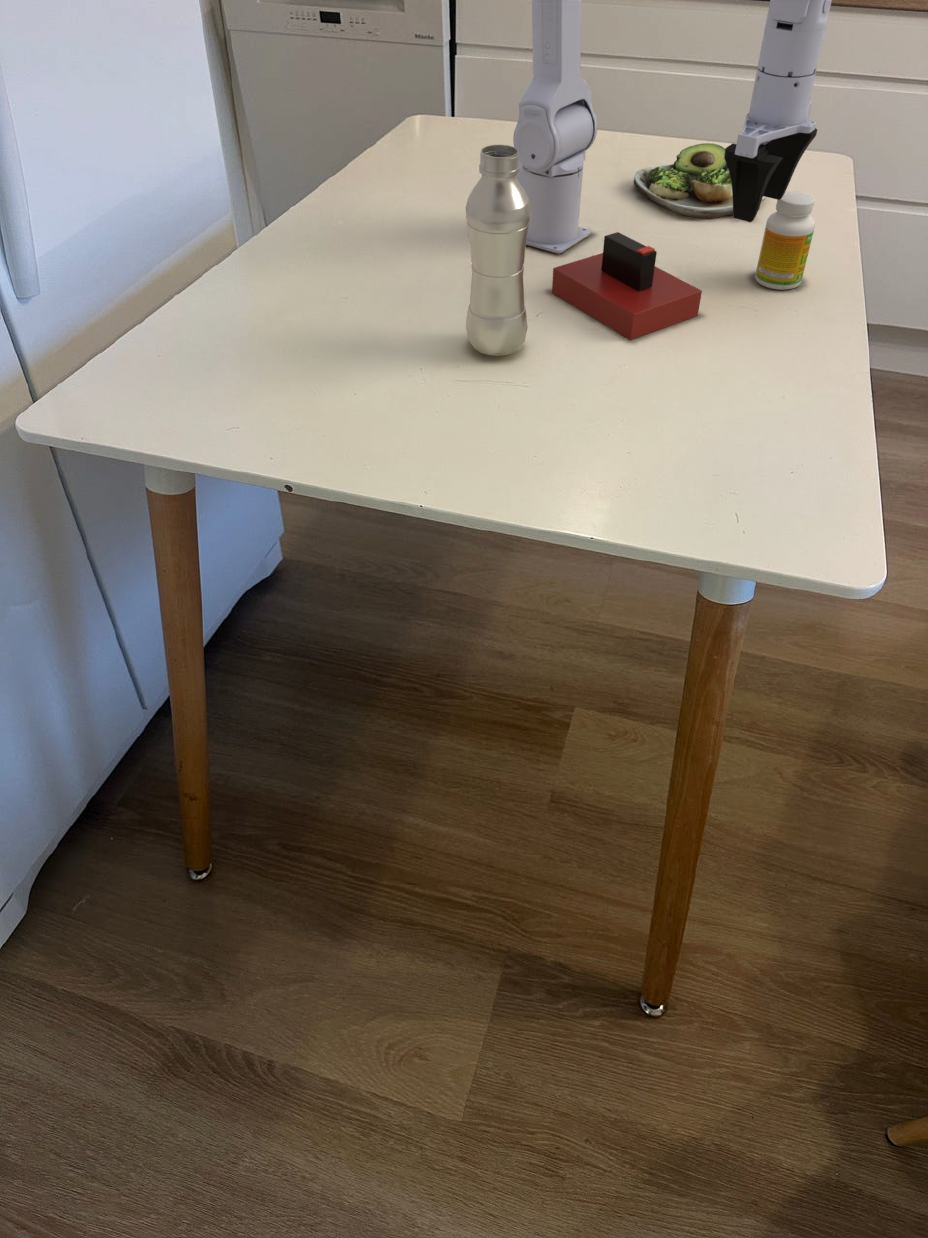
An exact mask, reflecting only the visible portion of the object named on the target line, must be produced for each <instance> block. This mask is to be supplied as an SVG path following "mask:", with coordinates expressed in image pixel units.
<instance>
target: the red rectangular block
mask: <svg viewBox="0 0 928 1238" xmlns="http://www.w3.org/2000/svg"><path fill="white" fill-rule="evenodd" d="M602 257H603V252H600V253H598V254H595V255H591V256H588V257H584V258H582V259H578V260H575V261H571V262H568V263H565V264H562V265H558V266H556V267H553V268H552V282H551V283H552V285H551V293H552V294H553V295H555V296H557V297H558V298H560V299H562V300H563V301H565V302H566V303H568V304H569V305H571V306H573V307H575V308H576V309H578V310H580V311H582V312H583V313H585V314H586V315H588V316H590V317H591V318H593V319H595V320H596V321H598V322H599V323H601V324H603V325H604V326H606V327H607V328H610V329H611V330H613V331H615V332H616V333H618V334H619V335H622V336H623V337H624V338H626V339H628V340H629V341H632V340H634V339H638V338H640V337H644V336H646V335H649V334H651V333H654V332H657V331H660V330H662V329H665V328H668V327H672V326H673V325H677V324H679V323H682V322H685V321H688V320H690V319H691V320H692V319H694V318H696V317H699V311H700V305H701V300H702V299H701V298H702V294H703V290H701V289H700V288H697V287H696V286H694V285H692V284H690V283H689V282H686V281H684V280H682V279H680V278H679V277H676V276H675V275H673V274H671V273H669V272H667V271H665V270H663V269H661V268H659V267H657V266H655V268H654V276H653V283H652V287H649V288H646V289H643V290H640V291H638V290H636V289H634V288H632V287H630V286H629V285H627V284H625V283H623V282H621V281H620V280H618V279H616V278H614V277H612V276H611V275H609V274H607V273H605V272H603V271H602V270H601V267H602Z"/></svg>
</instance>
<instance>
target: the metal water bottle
mask: <svg viewBox="0 0 928 1238" xmlns="http://www.w3.org/2000/svg"><path fill="white" fill-rule="evenodd" d="M479 153H480V155H479V156H480V157H479V160H480V161H479V165H478V166H479V167H478V172H479V173H480V174H481V177H480V178H479V180H478V181H477V183H475V185H474V187H473V188H472V190H471V191H470V193H469V195H468V197H467V201H466V203H465V219H466V226H467V232H468V233H467V234H468V239H469V247H470V262H471V279H470V280H471V281H470V294H469V305H468V308H467V314H466V321H465V329H466V336H467V339H468V342H469V343H470V344H471V346H472V347H473V348H474V350H476V351H477V352H479V353H481V354H484V355H487V356H494V357H495V356H497V357H498V356H501V357H502V356H506V355H507V356H508V355H511V354H513V353H516V352H517V351H518V350H519V349H520V348H521V347H522V345H523V344H524V343H525V341H526V337H527V332H528V327H529V326H528V316H527V309H526V305H525V289H524V287H525V286H524V268H525V265H524V264H525V258H526V247H527V245H526V241H527V235H528V230H529V224H530V218H531V206H530V202H529V198H528V196H527V194H526V192H525V190H524V188H523V187H522V185H521V184H520V182H519V181H518V179H517V178H516V175H517V174H518V173H519V169H520V167H519V150H518V149H517V148H515V147H514V146H512V145H509V144H490V145H486V146H484V147H482V148H481V149H480V152H479Z"/></svg>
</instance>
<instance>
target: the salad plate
mask: <svg viewBox="0 0 928 1238" xmlns="http://www.w3.org/2000/svg"><path fill="white" fill-rule="evenodd" d="M725 149H726V147H723V146H722V145H719V144H716V143H712V142H711V143H706V142H705V143H698V144H694V145H691V146H688V147H685V148H683V149H682V150H681V151H679V153H678V154H677V155H676V156H675V157H676V160H674V162H673V164H668V165H667V164H665V165H660V166H651V167H645V168H642V169H639V170H637V172H636V173H635V174H634V177H633V184H634V187H635V188H636V189H637V191H638V192H639V193H640V194H641V195H643V196H644V197H645V198H647V199H649V200H651V202H653V203H654V204H656V205H658V206H661V207H662V208H665V209H667V210H670V211H672V212H675V213H677V214H679V215H681V216H685V217H692V218H700V219H716V218H721V217H725V216H730V215H733V196H732V183H731V177H730V173H729V169H728V166H727V164H726V161H725V159H724V154H725ZM766 199H767V197H764V196H763V198H762V201H761V202H764V201H765V200H766ZM759 209H761V206H760V207H759Z"/></svg>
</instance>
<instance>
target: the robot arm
mask: <svg viewBox="0 0 928 1238" xmlns="http://www.w3.org/2000/svg"><path fill="white" fill-rule="evenodd" d="M768 5H769V6H768V11H767V14H766V20H765V24H764V25H765V26H764V30H763V35H762V41H761V45H760V52H759V57H758V63H757V68H756V73H755V78H754V82H753V83H754V84H753V89H752V94H751V99H750V105H749V110H748V113H746V115H745V121H744V124H743V129H742V131H741V132H740V133H738V135H737V140H736V143H731V144H729V145H728V146H726V147H725V154H724V159H725V161H726V164H727V166H728V169H729V173H730V177H731V183H732V196H733V214H732V215H733V219H735V220H739V221H744V222H748V223H753V221H754V220H755V219H756V217H757V215H758V212H759V210H760V208H761V204H762V202H763V201H762V198H763V196H764V197H766V198H769V199H773V200H776V201H777V200H780V199H782V197H783V195H784V193H785V192H787V189H788V186H789V184H790V182H791V180H792V178H793V175H794V173H795V171H796V168H797V166H798V164H799V162H800V160H801V158H802V157H803V155H804V153H805V152H806V150H807V148H808V147H809V146H810V144H811V143H812V142H813V141H814V139H815V138H816V136H817V135H818V133H817V132H818V129H817V128H816V127H817V122H816V121H814V120H810V114H811V111H812V110H811V109H812V104H813V101H812V100H811V97H812V92H813V88H814V83H815V78H816V74H817V70H818V66H819V61H820V56H821V53H822V47H823V44H824V39H825V35H826V31H827V26H828V22H829V15H830V10H831V6H832V0H770V1H769V4H768ZM531 23H532V24H531V25H532V26H531V27H532V34H531V35H532V80H531V82H530V83H529V85H528V87H527V89H526V90H525V92H524V94H523V95H522V97H521V99H520V101H519V102H518V119H517V123H516V124H515V128H514V131H513V138H512V143H513V147H515V148H517V149H518V150H519V167H520V169H519V173H518V174H517V175H516V178H517V179H518V181H519V182H520V184H521V185H522V187H523V188H524V190H525V192H526V194H527V196H528V198H529V202H530V206H531V218H530V224H529V230H528V235H527V241H526V246H529V247H533V248H537V249H540V250H544V251H547V252H551V253H555V254H562V253H564V252H565V251H567V250H568V249H570V248H571V247H572V246H574V245H576V244H578V243H579V242H580V241H582V240H584V239H586V238H587V237H589V236H591V234H592V229H589V228H586V227H582V226H580V225H579V223H580V211H581V197H582V188H583V187H582V186H583V185H582V184H583V174H584V161H586V153H587V152H586V151H587V150H589V149H590V148H591V147H592V145H593V144H594V142H595V140H596V137H597V133H598V121H597V120H598V119H597V115H596V113H595V111H594V108H593V103H592V88H591V87H590V85H589V84H588V82H587V81H586V80H585V79H584V77H583V76H582V74H581V62H582V61H581V58H582V57H581V53H582V0H531ZM759 207H760V208H759Z"/></svg>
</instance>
